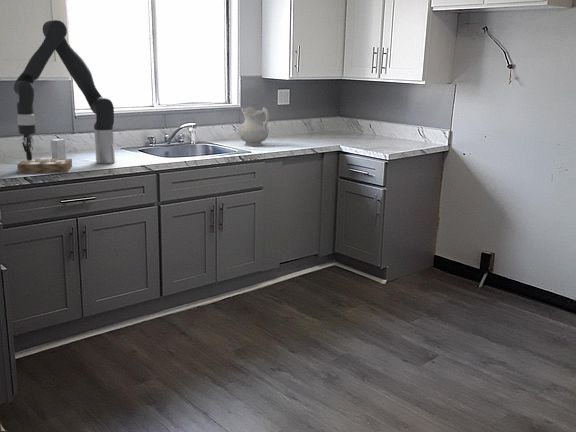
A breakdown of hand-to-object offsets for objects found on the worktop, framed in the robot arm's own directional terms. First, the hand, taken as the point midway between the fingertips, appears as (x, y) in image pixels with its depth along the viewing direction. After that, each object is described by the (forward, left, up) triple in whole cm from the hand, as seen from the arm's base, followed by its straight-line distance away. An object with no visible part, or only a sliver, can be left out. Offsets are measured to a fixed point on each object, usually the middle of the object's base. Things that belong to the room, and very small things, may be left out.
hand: (29, 160), depth 292 cm
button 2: (-14, 0, -3) cm, 14 cm away
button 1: (0, 0, -2) cm, 2 cm away
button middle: (-7, 0, -1) cm, 7 cm away
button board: (-7, 0, -5) cm, 9 cm away
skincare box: (-10, -20, -5) cm, 23 cm away
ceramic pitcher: (-120, -78, -5) cm, 143 cm away
